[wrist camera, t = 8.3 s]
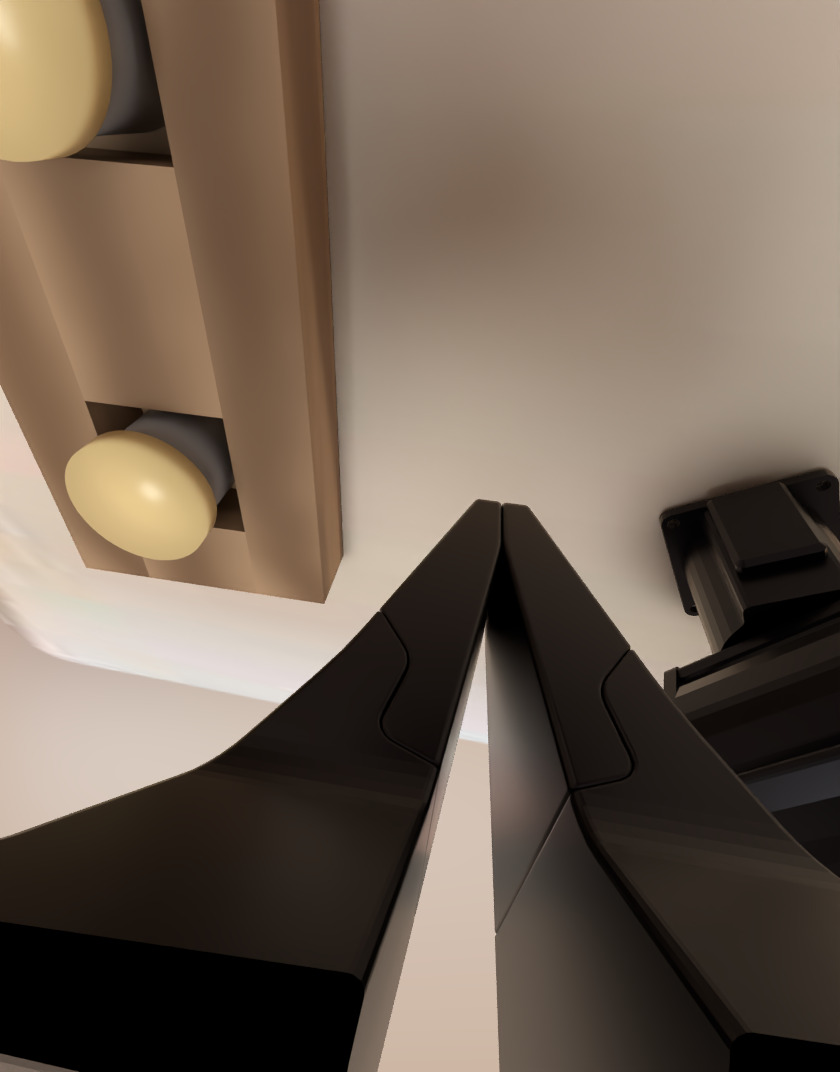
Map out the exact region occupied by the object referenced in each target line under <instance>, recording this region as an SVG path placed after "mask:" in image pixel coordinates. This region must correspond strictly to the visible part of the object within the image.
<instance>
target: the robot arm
mask: <svg viewBox="0 0 840 1072" xmlns="http://www.w3.org/2000/svg"><path fill="white" fill-rule="evenodd" d="M825 480H826V482H825V483H824V484H822V485H819V486H817V484H818V483H819V482H821V481H825ZM675 519H676V520H677V521H676V522H674V523H668V522H669V521H671V520H675ZM660 525H661V529H662V532H663V536H664V539H665V543H666V547H667V550H668V554H669V557H670V561H671V565H672V568H673V572H674V575H675V579H676V582H677V586H678V590H679V593H680V597H681V600H682V604H683V607H684V610H685V612H686V613H687V614H688V615H691V616H698V615H699V616H700V619H701V622H702V625H703V627H704V630H705V633H706V636H707V639H708V642H709V644H710V647H711V650H712V653H713V654H712V655H709V656H707V657H705V658H702V659H700V660H698V661H695V662H693V663H691V664H689V665H686V666H684V667H682V668H678V667H675V668H673V669H671V670H668V671H666V672H664V690H663V689H662V687H661V686H660V685H659V684H658V682H657V681H656V680H655V678H654V677H653V676H652V674H651V673H650V672H649V671H648V669H647V668H646V667H645V665H644V664H643V662H642V661H641V660H640V658H639V657H638V656H637V654H636V653H635V651H633V650H630V645H629V644H628V642H627V641H626V640H625V638H624V637H623V635H622V634H621V633H620V631H619V630H618V629H617V627H616V626H615V624H614V623H613V622H612V620H611V619H610V618H609V616H608V615H607V614H606V612H605V611H604V609H603V608H602V607H601V605H600V604H599V603H598V601H597V600H596V598H595V597H594V596H593V594H592V593H591V592H590V590H589V589H588V588H587V586H586V585H585V583H584V582H583V581H582V579H581V578H580V577H579V575H578V574H577V572H576V571H575V570H574V568H573V567H572V566H571V564H570V563H569V562H568V560H567V559H566V557H565V556H564V555H563V553H562V552H561V551H560V549H559V548H558V546H557V545H556V544H555V542H554V541H553V540H552V538H551V537H550V536H549V534H548V533H547V531H546V530H545V529H544V527H543V526H542V525H541V523H540V522H539V520H538V519H537V518H536V516H535V515H534V514H533V512H532V511H531V510H530V508H529V507H528V506H526V505H519V504H512V503H504V504H503V505H502V506H501V504H500V503H499V502H497V501H489V500H482V499H478V500H476V501H475V502H474V503H473V504H472V505H471V506H470V507H469V508H468V509H467V511H466V512H465V513H464V514H463V515H462V516H461V517H460V519H459V520H458V521H457V522H456V523H455V524H454V525H453V526H452V528H451V529H450V530H449V531H448V532H447V533H446V534H445V536H444V537H443V538H442V539H441V540H440V541H439V542H438V544H437V545H436V546H435V547H434V548H433V549H432V550H431V552H430V553H429V554H428V555H427V556H426V557H425V558H424V559H423V561H422V562H421V563H420V564H419V565H418V566H417V567H416V569H415V570H414V571H413V572H412V573H411V574H410V575H409V577H408V578H407V579H406V580H405V581H404V582H403V583H402V584H401V586H400V587H399V588H398V589H397V590H396V591H395V592H394V594H393V595H392V596H391V597H390V598H389V599H388V600H387V602H386V603H385V604H384V605H383V606H382V607H381V608H380V612H377V613H376V614H375V615H374V616H373V617H372V618H371V619H370V621H369V622H368V623H367V624H366V625H365V626H364V627H363V628H362V630H361V631H360V632H359V633H358V634H357V635H356V636H355V637H354V638H353V639H352V640H351V641H350V642H349V643H348V644H347V645H346V646H345V647H344V648H343V650H342V651H340V652H339V653H338V654H337V655H336V656H335V657H334V658H333V659H332V660H331V661H330V662H328V663H327V664H326V665H325V666H324V667H323V668H322V669H321V670H320V671H319V672H318V673H316V674H315V675H314V676H313V677H312V678H311V679H310V680H308V681H307V682H306V683H305V684H304V685H303V686H301V687H300V688H299V689H298V690H297V691H296V692H295V693H293V694H292V695H291V696H290V697H289V698H288V699H286V700H285V701H284V702H283V703H282V704H281V705H280V706H278V707H277V708H276V709H275V710H274V711H273V712H272V713H270V714H269V715H268V716H267V717H266V718H265V719H263V720H262V721H261V722H260V723H259V724H258V725H256V726H255V727H254V728H253V729H252V730H251V731H250V732H248V733H247V734H246V735H245V736H244V737H242V738H241V739H240V740H239V741H238V742H237V743H235V744H234V745H233V746H231V747H230V748H228V749H227V750H226V751H224V752H223V753H221V754H220V755H218V756H216V757H215V758H213V759H212V760H210V761H208V762H206V763H205V764H203V765H201V766H199V767H197V768H195V769H193V770H191V771H188V772H185V773H183V774H180V775H177V776H174V777H172V778H169V779H166V780H163V781H160V782H158V783H155V784H152V785H149V786H146V787H144V788H141V789H138V790H136V791H133V792H130V793H127V794H124V795H121V796H119V797H116V798H113V799H110V800H108V801H105V802H102V803H99V804H97V805H94V806H91V807H88V808H86V809H83V810H80V811H77V812H74V813H71V814H69V815H66V816H63V817H61V818H58V819H55V820H52V821H49V822H46V823H44V824H41V825H38V826H35V827H33V828H30V829H27V830H24V831H21V832H19V833H16V834H13V835H10V836H7V837H3V838H0V1072H377V1069H378V1066H379V1062H380V1058H381V1054H382V1049H383V1045H384V1041H385V1037H386V1033H387V1029H388V1025H389V1020H390V1017H391V1012H392V1008H393V1004H394V1000H395V996H396V992H397V988H398V984H399V980H400V976H401V972H402V967H403V963H404V959H405V955H406V951H407V946H408V943H409V939H410V934H411V930H412V926H413V922H414V916H415V914H416V910H417V906H418V901H419V897H420V893H421V889H422V885H423V881H424V877H425V873H426V869H427V864H428V860H429V856H430V852H431V848H432V844H433V840H434V835H435V831H436V828H437V823H438V819H439V815H440V811H441V807H442V803H443V799H444V795H445V790H446V787H447V782H448V778H449V774H450V770H451V766H452V762H453V758H454V753H455V749H456V745H457V741H458V737H459V733H460V729H461V725H462V721H463V717H464V713H465V708H466V704H467V700H468V696H469V692H470V688H471V684H472V680H473V676H474V671H475V667H476V663H477V659H478V655H479V651H480V647H481V643H482V638H483V633H484V628H485V655H486V684H487V713H488V743H489V769H490V770H489V772H490V801H491V829H492V859H493V888H494V916H495V917H494V918H495V932H496V936H495V950H496V978H497V1008H498V1037H499V1064H500V1072H840V500H839V481H838V479H837V477H836V476H835V475H834V474H833V473H832V472H831V471H829V470H818V471H814V472H810V473H807V474H803V475H799V476H795V477H791V478H788V479H784V480H780V481H776V482H773V483H769V484H765V485H761V486H758V487H754V488H750V489H746V490H743V491H739V492H735V493H731V494H728V495H724V496H720V497H716V498H713V499H709V500H705V501H701V502H697V503H694V504H690V505H686V506H682V507H679V508H675V509H671V510H668V511H666V512H664V513H663V514H662V515H661V517H660ZM694 605H696V606H694ZM485 623H486V625H485Z"/></svg>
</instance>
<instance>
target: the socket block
mask: <svg viewBox="0 0 840 1072" xmlns="http://www.w3.org/2000/svg"><path fill="white" fill-rule="evenodd" d="M141 3H142V8H143V13H144V18H145V23H146V28H147V33H148V38H149V44H150V49H151V54H152V59H153V64H154V69H155V74H156V79H157V84H158V90H159V95H160V100H161V105H162V110H163V115H164V120H165V126H163V127H162V128H160V129H158V130H155V131H152V132H147V133H136V134H121V135H106V136H95V137H94V139H93V140H92V141H91V142H90V143H89V144H88V145H87V146H86V147H84V148H83V149H81V150H80V151H79V152H77V153H75V154H72V155H70V156H67V157H63V158H57V159H50V160H41V161H31V162H12V161H7V160H1V159H0V385H1V387H2V389H3V391H4V393H5V396H6V398H7V400H8V402H9V404H10V406H11V408H12V411H13V413H14V415H15V417H16V419H17V421H18V423H19V425H20V428H21V430H22V432H23V434H24V436H25V438H26V440H27V443H28V445H29V447H30V449H31V451H32V453H33V455H34V457H35V460H36V462H37V464H38V466H39V468H40V470H41V472H42V475H43V477H44V479H45V481H46V483H47V485H48V487H49V489H50V492H51V494H52V496H53V498H54V500H55V502H56V504H57V507H58V509H59V511H60V513H61V515H62V517H63V519H64V521H65V524H66V526H67V528H68V530H69V532H70V534H71V536H72V539H73V541H74V543H75V545H76V547H77V549H78V551H79V553H80V556H81V558H82V560H83V562H84V564H85V566H86V568H92V569H99V570H105V571H112V572H119V573H125V574H132V575H138V576H145V577H151V578H158V579H165V580H171V581H178V582H184V583H191V584H197V585H204V586H211V587H217V588H224V589H230V590H237V591H243V592H250V593H256V594H263V595H270V596H276V597H283V598H289V599H296V600H302V601H309V602H316V603H322V604H324V603H325V600H326V598H327V595H328V593H329V590H330V588H331V585H332V583H333V580H334V578H335V575H336V572H337V570H338V567H339V565H340V562H341V560H342V557H343V541H342V518H341V495H340V473H339V450H338V427H337V405H336V382H335V359H334V337H333V314H332V291H331V268H330V246H329V223H328V200H327V178H326V155H325V132H324V110H323V87H322V64H321V42H320V19H319V0H141ZM150 409H153V410H160V411H168V412H176V413H184V414H192V415H200V416H208V417H216V418H223V422H224V427H225V432H226V438H227V443H228V448H229V453H230V458H231V463H232V468H233V473H234V479H235V482H234V484H233V485H232V486H231V487H230V489H229V490H228V491H227V493H226V494H225V495H224V497H223V498H222V499H221V501H220V502H219V503H218V504H217V517H216V521H215V524H214V526H213V528H212V530H211V531H210V532H209V534H208V535H207V537H206V538H205V539H204V541H203V542H202V543H201V545H200V546H199V548H198V549H197V550H196V551H195V552H193V553H192V554H190V555H188V556H186V557H184V558H180V559H176V560H154V559H149V558H145V557H141V556H138V555H135V554H133V553H130V552H128V551H126V550H123V549H121V548H119V547H118V546H116V545H114V544H112V543H111V542H109V541H108V540H106V539H105V538H104V537H102V536H101V535H100V534H98V533H97V532H96V531H95V530H94V529H93V528H92V527H91V526H90V525H89V524H88V523H87V522H86V521H85V520H84V519H83V518H82V516H81V515H80V514H79V513H78V511H77V510H76V508H75V507H74V505H73V503H72V501H71V499H70V497H69V495H68V492H67V488H66V484H65V470H66V467H67V464H68V462H69V460H70V458H71V457H72V456H73V455H74V454H75V453H76V452H77V451H79V450H80V449H81V448H83V447H84V446H85V445H86V444H88V443H89V442H90V441H92V440H93V439H94V438H96V437H97V436H99V435H101V434H103V433H106V432H111V431H119V430H125V429H126V428H127V427H129V426H130V425H131V424H132V423H134V422H135V421H136V420H137V419H138V418H140V417H141V416H142V415H143V414H145V413H146V412H147V411H148V410H150Z"/></svg>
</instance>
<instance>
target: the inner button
mask: <svg viewBox="0 0 840 1072" xmlns="http://www.w3.org/2000/svg"><path fill="white" fill-rule="evenodd" d="M234 482H235V479H234V473H233V468H232V463H231V458H230V453H229V448H228V443H227V438H226V432H225V427H224V422H223V418H216V417H208V416H200V415H192V414H184V413H176V412H168V411H160V410H153V409H150V410H148V411H147V412H146V413H145V414H143V415H142V416H141V417H140V418H138V419H137V420H136V421H135V422H134V423H132V424H131V425H130V426H129V427H127V428H126V429H125V430H119V431H111V432H106V433H103V434H101V435H99V436H97V437H96V438H94V439H93V440H92V441H90V442H89V443H88V444H86V445H85V446H84V447H83V448H81V449H80V450H79V451H77V452H76V453H75V454H74V455H73V456H72V457H71V458H70V460H69V462H68V464H67V467H66V470H65V484H66V488H67V492H68V495H69V497H70V499H71V501H72V503H73V505H74V507H75V508H76V510H77V511H78V513H79V514H80V515H81V516H82V518H83V519H84V520H85V521H86V522H87V523H88V524H89V525H90V526H91V527H92V528H93V529H94V530H95V531H96V532H97V533H98V534H100V535H101V536H102V537H104V538H105V539H106V540H108V541H109V542H111V543H112V544H114V545H116V546H118V547H119V548H121V549H123V550H126V551H128V552H130V553H133V554H135V555H138V556H141V557H145V558H149V559H154V560H176V559H180V558H184V557H186V556H188V555H190V554H192V553H193V552H195V551H196V550H197V549H198V548H199V546H200V545H201V543H202V542H203V541H204V539H205V538H206V537H207V535H208V534H209V532H210V531H211V530H212V528H213V526H214V524H215V521H216V517H217V504H218V503H219V502H220V501H221V499H222V498H223V497H224V495H225V494H226V493H227V491H228V490H229V489H230V487H231V486H232V485H233V484H234Z"/></svg>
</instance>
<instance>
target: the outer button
mask: <svg viewBox="0 0 840 1072" xmlns="http://www.w3.org/2000/svg"><path fill="white" fill-rule="evenodd" d="M163 126H165V120H164V115H163V110H162V105H161V100H160V95H159V90H158V84H157V79H156V74H155V69H154V64H153V59H152V54H151V49H150V44H149V38H148V33H147V28H146V23H145V18H144V13H143V8H142V3H141V0H0V159H1V160H7V161H12V162H31V161H41V160H50V159H57V158H63V157H67V156H70V155H72V154H75V153H77V152H79V151H80V150H81V149H83V148H84V147H86V146H87V145H88V144H89V143H90V142H91V141H92V140H93V139H94V137H95V136H106V135H121V134H136V133H147V132H152V131H155V130H158V129H160V128H162V127H163Z"/></svg>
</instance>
